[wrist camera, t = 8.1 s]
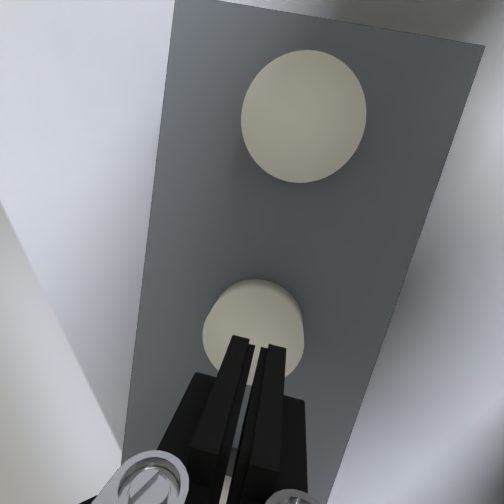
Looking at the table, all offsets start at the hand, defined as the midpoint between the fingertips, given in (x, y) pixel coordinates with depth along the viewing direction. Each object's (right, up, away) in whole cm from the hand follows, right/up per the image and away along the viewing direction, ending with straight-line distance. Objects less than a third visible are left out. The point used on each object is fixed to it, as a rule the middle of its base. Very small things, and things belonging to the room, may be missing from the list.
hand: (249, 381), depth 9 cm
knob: (+3, +10, +8) cm, 13 cm away
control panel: (+1, +2, +11) cm, 11 cm away
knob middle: (+1, +2, +10) cm, 10 cm away
